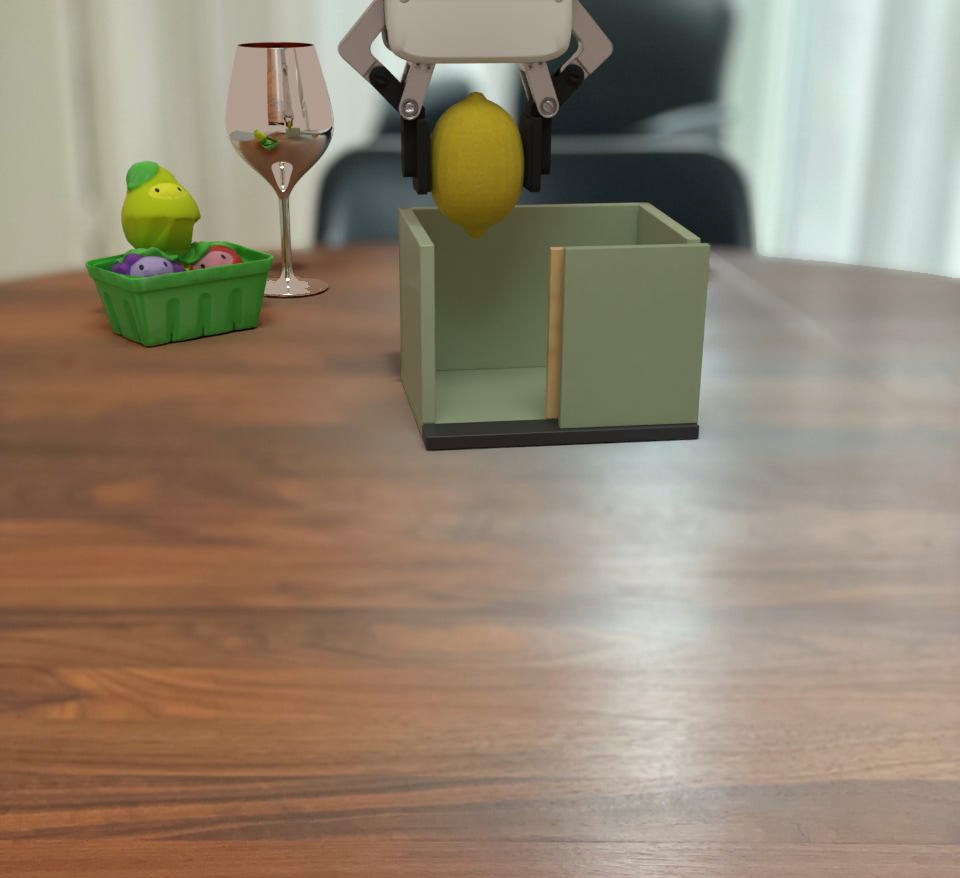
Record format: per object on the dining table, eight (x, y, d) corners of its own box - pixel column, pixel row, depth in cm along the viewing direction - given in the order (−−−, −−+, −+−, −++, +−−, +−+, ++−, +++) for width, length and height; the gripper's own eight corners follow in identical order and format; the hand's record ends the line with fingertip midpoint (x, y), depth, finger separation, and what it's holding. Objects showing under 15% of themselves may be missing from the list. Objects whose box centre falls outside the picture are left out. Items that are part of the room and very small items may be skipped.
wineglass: (215, 288, 119) (197, 44, 111) (296, 272, 124) (284, 39, 116) (279, 305, 114) (266, 51, 106) (361, 288, 119) (353, 45, 111)
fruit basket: (138, 354, 101) (122, 181, 96) (80, 329, 107) (61, 164, 102) (282, 328, 107) (274, 165, 102) (219, 306, 113) (208, 150, 108)
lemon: (543, 238, 86) (546, 92, 83) (474, 252, 83) (474, 99, 79) (476, 225, 90) (477, 84, 87) (408, 237, 87) (405, 91, 83)
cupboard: (639, 372, 98) (648, 202, 93) (698, 439, 85) (712, 246, 81) (401, 381, 95) (398, 207, 91) (426, 450, 83) (424, 253, 78)
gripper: (621, -166, 82) (608, 176, 90) (306, -170, 80) (320, 182, 87) (656, -173, 75) (638, 197, 83) (313, -177, 73) (328, 204, 81)
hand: (475, 186), depth 85 cm, fingers closed on lemon, 5 cm apart
